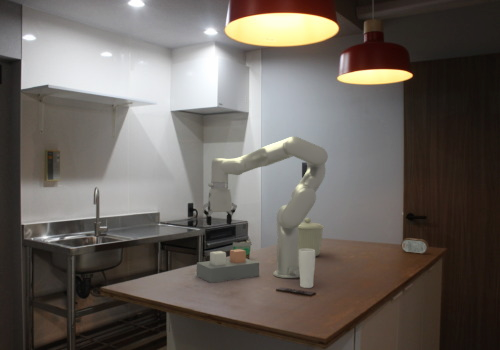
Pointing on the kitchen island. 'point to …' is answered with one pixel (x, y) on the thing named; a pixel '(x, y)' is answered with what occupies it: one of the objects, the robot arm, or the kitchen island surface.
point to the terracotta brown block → (237, 256)
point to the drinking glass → (306, 267)
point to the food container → (243, 247)
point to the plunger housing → (227, 270)
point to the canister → (310, 236)
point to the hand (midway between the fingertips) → (219, 224)
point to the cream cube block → (218, 258)
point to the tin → (415, 245)
